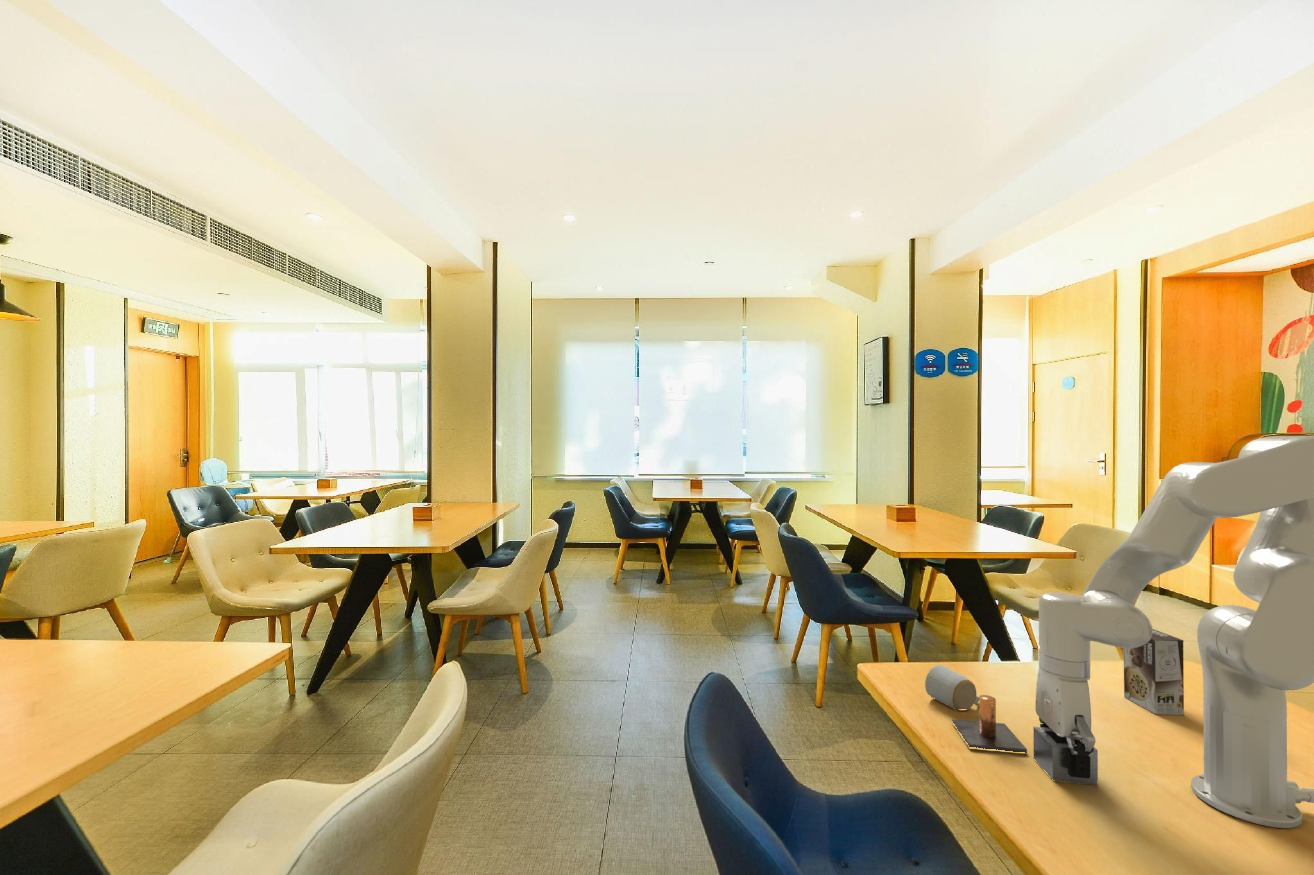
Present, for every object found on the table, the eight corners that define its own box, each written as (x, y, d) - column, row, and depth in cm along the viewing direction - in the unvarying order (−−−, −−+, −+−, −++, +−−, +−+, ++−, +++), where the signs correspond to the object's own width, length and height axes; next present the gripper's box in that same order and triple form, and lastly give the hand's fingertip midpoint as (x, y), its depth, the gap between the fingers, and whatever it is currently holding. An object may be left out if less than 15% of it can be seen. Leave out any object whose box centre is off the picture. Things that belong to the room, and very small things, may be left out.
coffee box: (1186, 715, 124) (1185, 640, 124) (1155, 715, 124) (1155, 640, 124) (1150, 697, 133) (1150, 626, 133) (1122, 696, 133) (1121, 626, 133)
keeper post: (1004, 728, 118) (1004, 689, 118) (1026, 754, 108) (1026, 711, 108) (952, 724, 120) (952, 685, 120) (969, 749, 110) (969, 707, 110)
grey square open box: (1075, 762, 106) (1075, 730, 106) (1097, 785, 99) (1097, 750, 99) (1033, 759, 107) (1033, 726, 107) (1052, 781, 100) (1052, 746, 100)
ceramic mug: (954, 716, 124) (955, 680, 124) (924, 700, 131) (924, 666, 131) (989, 708, 128) (990, 673, 128) (957, 693, 135) (958, 660, 135)
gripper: (1019, 646, 112) (1019, 734, 112) (1066, 683, 95) (1066, 787, 95) (1062, 649, 111) (1061, 738, 111) (1117, 686, 94) (1117, 792, 94)
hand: (1063, 761), depth 103 cm, fingers open, 9 cm apart
